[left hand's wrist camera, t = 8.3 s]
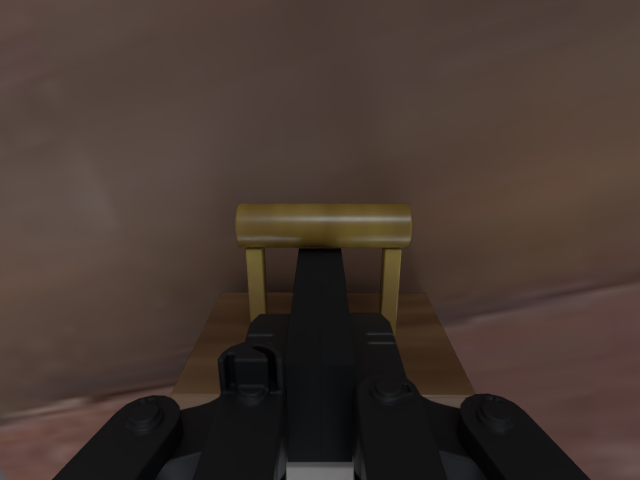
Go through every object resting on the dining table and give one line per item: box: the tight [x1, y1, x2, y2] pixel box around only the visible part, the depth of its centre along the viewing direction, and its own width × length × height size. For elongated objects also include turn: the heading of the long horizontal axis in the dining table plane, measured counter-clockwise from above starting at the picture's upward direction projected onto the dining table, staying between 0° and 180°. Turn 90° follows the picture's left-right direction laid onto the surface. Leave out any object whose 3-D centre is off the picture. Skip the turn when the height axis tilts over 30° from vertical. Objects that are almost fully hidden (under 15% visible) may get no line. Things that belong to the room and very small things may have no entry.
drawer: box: [171, 203, 476, 410], centre depth 19 cm, size 24×10×7 cm, turn 0°
